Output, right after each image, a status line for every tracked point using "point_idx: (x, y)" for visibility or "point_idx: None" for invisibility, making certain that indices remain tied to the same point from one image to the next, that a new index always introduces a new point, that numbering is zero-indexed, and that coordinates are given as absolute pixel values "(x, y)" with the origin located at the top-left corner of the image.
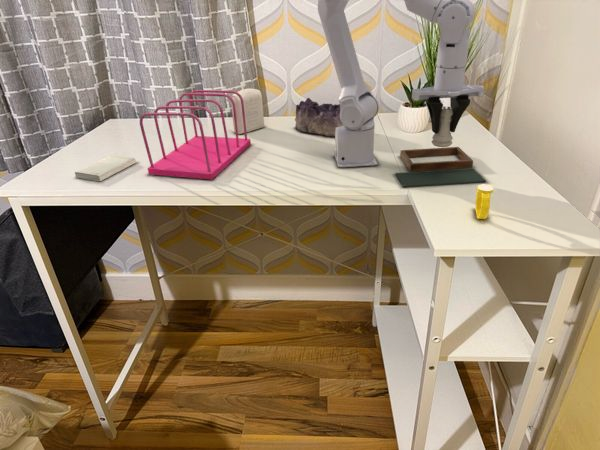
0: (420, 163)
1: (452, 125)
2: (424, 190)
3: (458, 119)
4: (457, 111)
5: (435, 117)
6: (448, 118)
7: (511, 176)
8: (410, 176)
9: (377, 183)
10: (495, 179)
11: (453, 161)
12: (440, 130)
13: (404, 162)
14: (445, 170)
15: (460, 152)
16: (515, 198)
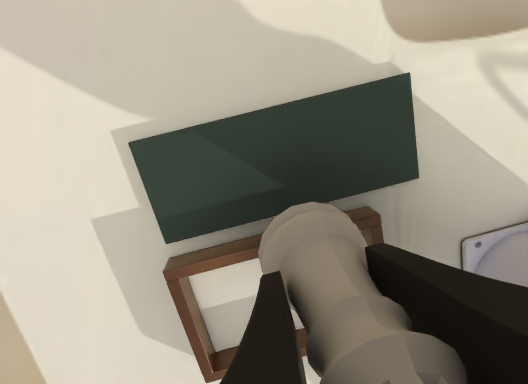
0: None
1: (287, 301)
2: (340, 55)
3: (255, 326)
4: (295, 379)
5: (496, 282)
6: (346, 327)
7: (39, 203)
8: (376, 155)
9: (480, 101)
10: (95, 172)
11: (232, 256)
12: (357, 261)
13: None
14: (258, 216)
15: (201, 340)
16: (27, 5)
